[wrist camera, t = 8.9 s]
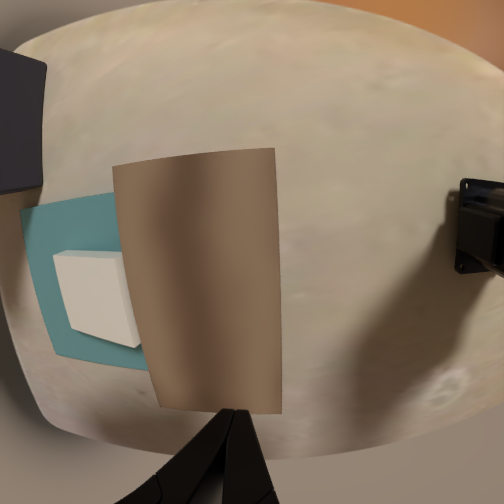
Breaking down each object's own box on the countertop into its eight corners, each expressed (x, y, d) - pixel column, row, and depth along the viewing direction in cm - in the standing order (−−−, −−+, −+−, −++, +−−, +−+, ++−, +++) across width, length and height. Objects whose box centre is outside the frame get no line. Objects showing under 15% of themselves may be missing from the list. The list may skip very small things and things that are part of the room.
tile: (130, 252, 17) (114, 258, 15) (147, 337, 18) (134, 347, 17) (67, 250, 19) (52, 255, 18) (83, 320, 20) (71, 328, 19)
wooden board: (274, 152, 17) (274, 147, 14) (281, 387, 21) (281, 413, 18) (135, 166, 17) (112, 166, 15) (171, 383, 22) (160, 406, 19)
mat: (133, 189, 18) (130, 190, 17) (164, 369, 21) (162, 371, 21) (22, 209, 19) (19, 209, 19) (58, 352, 22) (56, 354, 22)
